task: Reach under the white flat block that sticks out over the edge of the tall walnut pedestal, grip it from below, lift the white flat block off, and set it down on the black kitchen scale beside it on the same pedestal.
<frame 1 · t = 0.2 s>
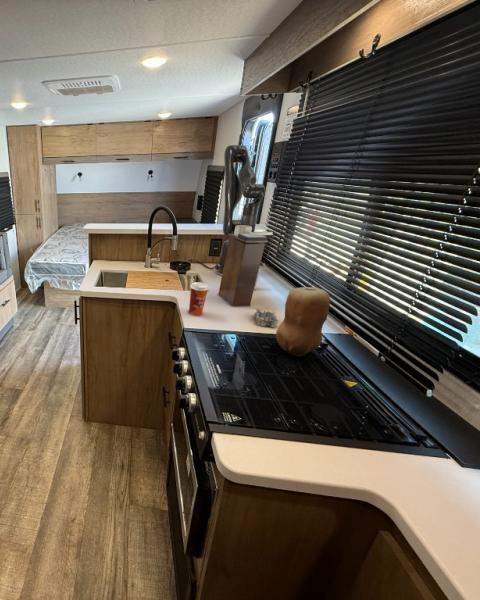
hand: (242, 252, 172), 17 cm above the table, tool pointing down, fingers open, 8 cm apart
paper cup: (195, 313, 141), on the table
grey knobbly lump: (264, 322, 133), on the table
scale: (251, 238, 138), resting on pedestal
medicine box: (246, 288, 169), on the table
pedestal: (233, 300, 154), on the table
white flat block: (242, 234, 146), point 32 cm above the table, touching pedestal
butternut squash: (293, 353, 111), on the table
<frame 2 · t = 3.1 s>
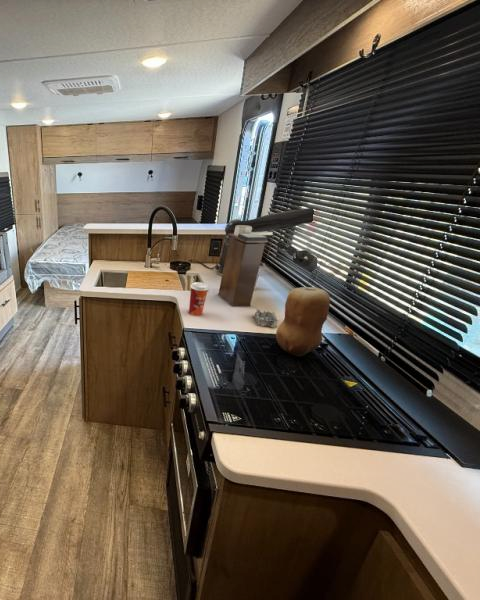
hand: (283, 245, 148), 27 cm above the table, tool pointing upward, fingers open, 8 cm apart
nothing on the table moved.
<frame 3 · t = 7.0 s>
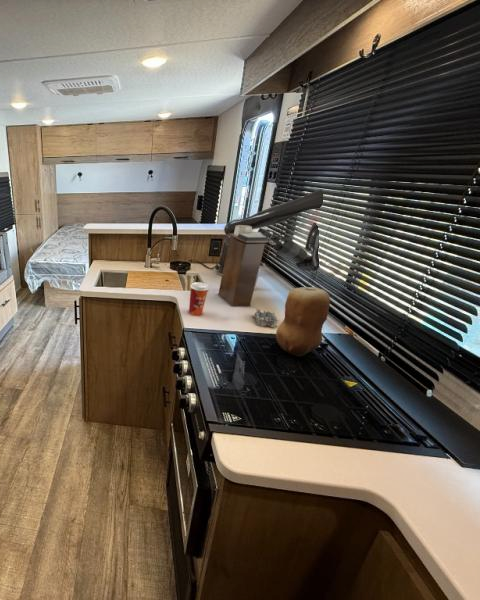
hand: (260, 230, 145), 34 cm above the table, tool pointing upward, fingers closed on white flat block, 2 cm apart
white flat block: (242, 234, 146), point 32 cm above the table, touching gripper, pedestal
everything else where it was.
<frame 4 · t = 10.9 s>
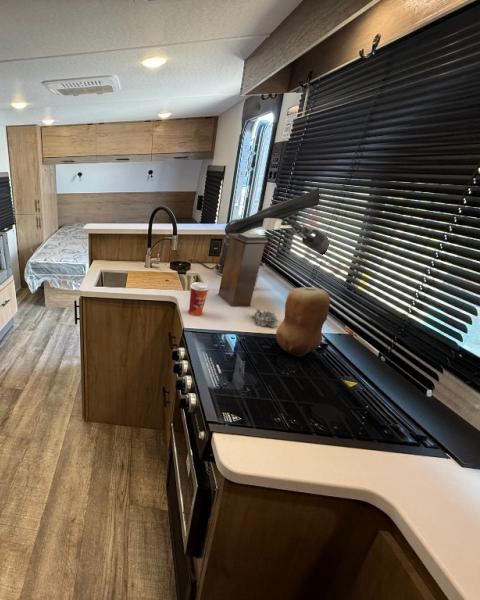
hand: (290, 223, 139), 38 cm above the table, tool pointing upward, fingers closed on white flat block, 2 cm apart
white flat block: (270, 228, 140), point 36 cm above the table, touching gripper
everything else where it was.
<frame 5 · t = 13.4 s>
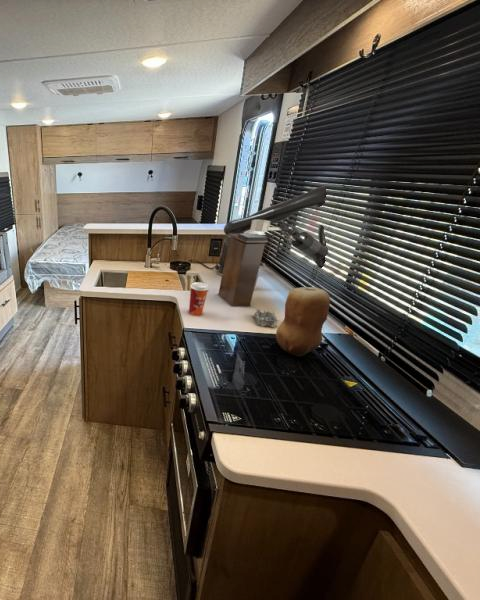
hand: (279, 225, 136), 38 cm above the table, tool pointing upward, fingers closed on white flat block, 2 cm apart
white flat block: (259, 230, 136), point 36 cm above the table, touching gripper
everything else where it was.
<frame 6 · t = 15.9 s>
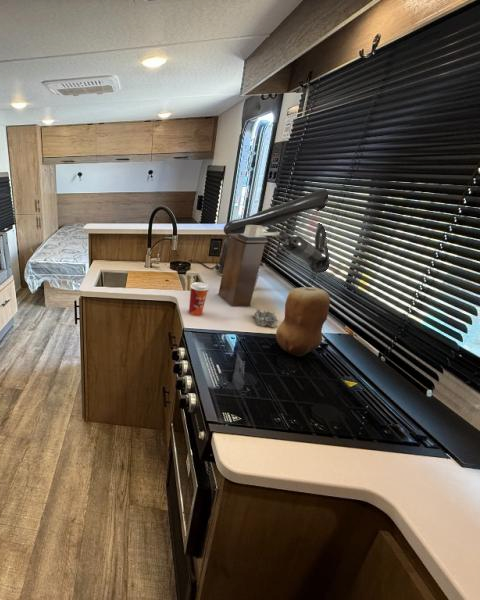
hand: (274, 230, 137), 36 cm above the table, tool pointing upward, fingers open, 8 cm apart
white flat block: (252, 235, 137), point 34 cm above the table, touching scale
everything else where it was.
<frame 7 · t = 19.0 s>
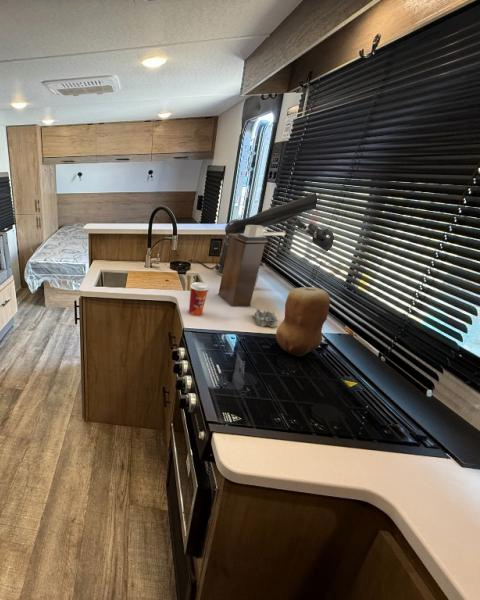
hand: (302, 223, 137), 38 cm above the table, tool pointing upward, fingers open, 8 cm apart
nothing on the table moved.
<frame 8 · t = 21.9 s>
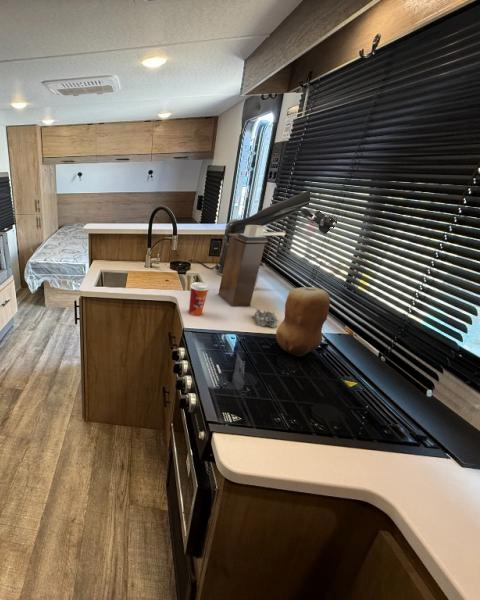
hand: (309, 211, 139), 43 cm above the table, tool pointing upward, fingers open, 8 cm apart
nothing on the table moved.
at the end: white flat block 0.0 cm off-centre on the scale, point 1.6 cm above the scale's base; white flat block tilted 0°; the gripper is holding nothing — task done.
